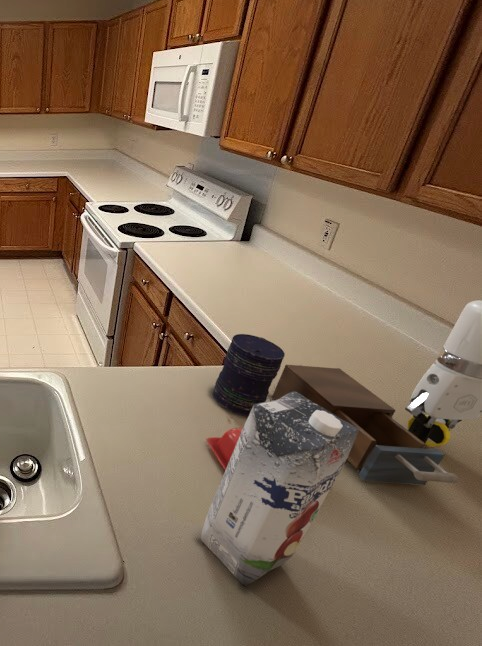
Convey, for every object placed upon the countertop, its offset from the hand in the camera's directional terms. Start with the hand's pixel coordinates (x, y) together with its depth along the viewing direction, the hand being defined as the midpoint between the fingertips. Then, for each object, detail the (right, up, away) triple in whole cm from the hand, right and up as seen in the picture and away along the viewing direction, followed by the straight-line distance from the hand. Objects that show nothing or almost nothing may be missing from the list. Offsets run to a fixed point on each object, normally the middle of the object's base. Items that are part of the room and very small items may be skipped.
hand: (423, 438), depth 85 cm
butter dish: (-43, -2, -9) cm, 44 cm away
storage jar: (-34, +5, +9) cm, 35 cm away
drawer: (-17, -2, -7) cm, 19 cm away
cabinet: (-17, +2, +5) cm, 18 cm away
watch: (0, -1, 0) cm, 1 cm away
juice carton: (-54, -7, -24) cm, 59 cm away
